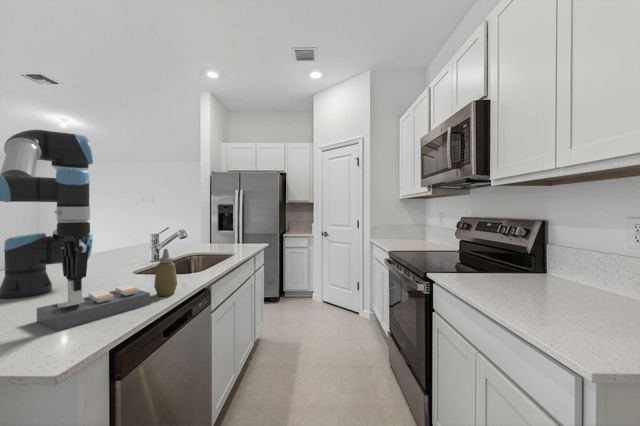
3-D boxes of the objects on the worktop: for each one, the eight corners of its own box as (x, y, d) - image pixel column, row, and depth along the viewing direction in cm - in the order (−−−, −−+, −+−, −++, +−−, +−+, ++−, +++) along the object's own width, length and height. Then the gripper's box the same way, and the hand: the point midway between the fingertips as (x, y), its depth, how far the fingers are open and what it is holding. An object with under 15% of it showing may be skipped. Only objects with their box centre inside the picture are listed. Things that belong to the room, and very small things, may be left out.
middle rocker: (88, 296, 95) (88, 292, 94) (103, 292, 99) (104, 289, 98) (97, 302, 92) (98, 299, 92) (113, 299, 96) (113, 295, 96)
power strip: (28, 317, 91) (27, 302, 91) (118, 295, 114) (118, 283, 114) (57, 331, 81) (57, 314, 81) (150, 304, 104) (150, 291, 104)
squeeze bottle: (167, 298, 111) (167, 250, 111) (149, 296, 113) (149, 250, 112) (181, 292, 119) (181, 247, 119) (164, 290, 121) (164, 247, 120)
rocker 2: (115, 290, 102) (115, 287, 102) (128, 287, 106) (129, 284, 105) (125, 295, 99) (125, 292, 99) (138, 292, 103) (138, 288, 103)
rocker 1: (57, 307, 88) (57, 303, 88) (75, 303, 91) (75, 299, 92) (66, 306, 85) (66, 302, 85) (84, 302, 89) (84, 298, 89)
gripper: (47, 221, 86) (48, 301, 87) (68, 222, 80) (70, 308, 80) (78, 220, 93) (79, 295, 93) (100, 221, 87) (101, 301, 87)
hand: (75, 301), depth 87 cm, fingers closed, pressing on rocker 1
